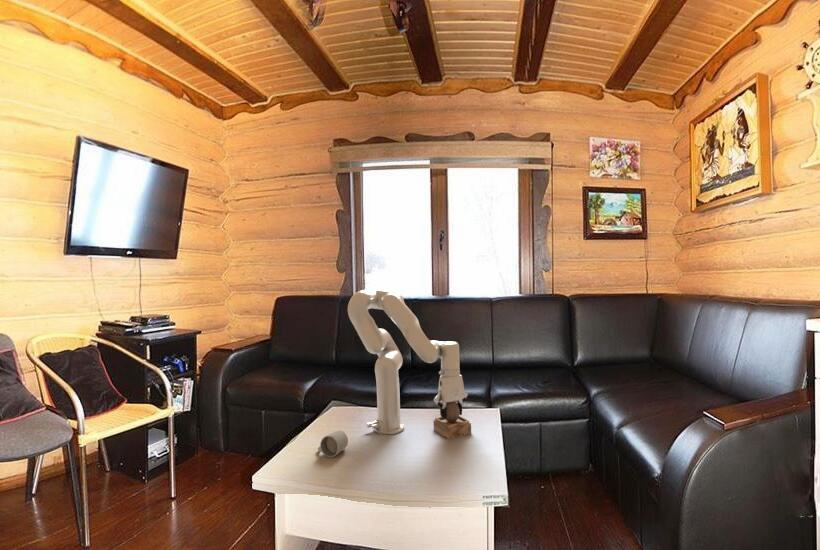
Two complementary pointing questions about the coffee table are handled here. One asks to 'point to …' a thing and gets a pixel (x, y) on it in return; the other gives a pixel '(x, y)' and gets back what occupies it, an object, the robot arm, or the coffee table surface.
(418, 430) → the coffee table surface
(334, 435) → the ceramic mug
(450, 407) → the vase
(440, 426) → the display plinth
